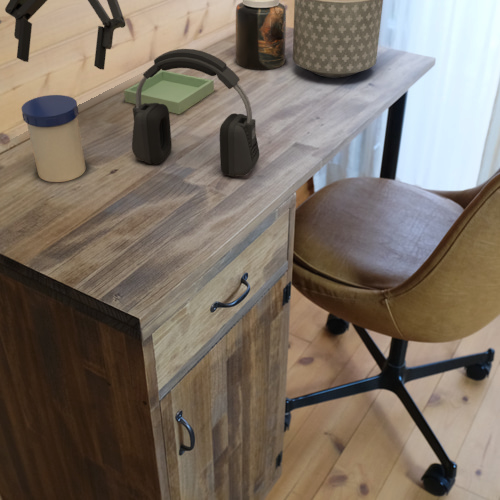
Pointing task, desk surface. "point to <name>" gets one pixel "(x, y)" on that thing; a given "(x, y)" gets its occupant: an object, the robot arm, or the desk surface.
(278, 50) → the jar
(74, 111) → the lid
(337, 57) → the planter
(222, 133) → the headphones
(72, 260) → the desk surface
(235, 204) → the desk surface
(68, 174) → the cream jar
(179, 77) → the tray
